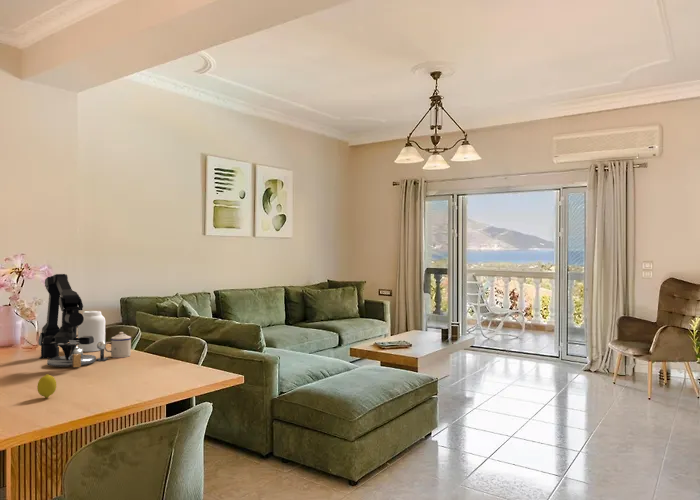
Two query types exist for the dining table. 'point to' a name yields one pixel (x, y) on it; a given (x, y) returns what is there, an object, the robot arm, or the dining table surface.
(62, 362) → the platter
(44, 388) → the lemon
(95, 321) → the white jar
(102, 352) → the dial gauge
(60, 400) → the dining table surface
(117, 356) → the teacup with lid
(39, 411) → the dining table surface
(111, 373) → the dining table surface
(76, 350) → the cover
